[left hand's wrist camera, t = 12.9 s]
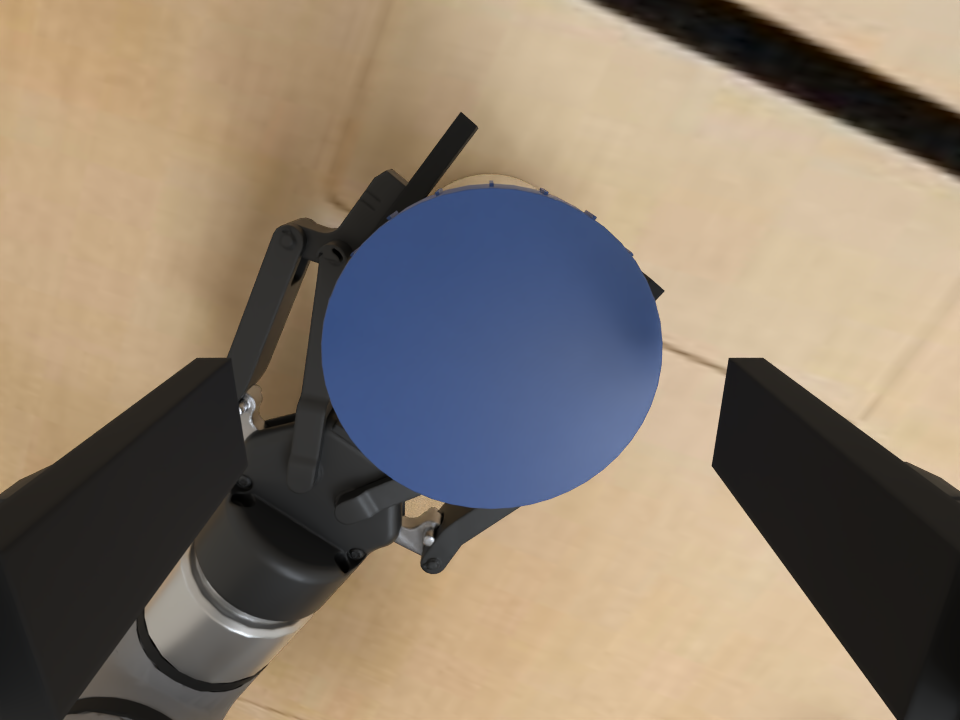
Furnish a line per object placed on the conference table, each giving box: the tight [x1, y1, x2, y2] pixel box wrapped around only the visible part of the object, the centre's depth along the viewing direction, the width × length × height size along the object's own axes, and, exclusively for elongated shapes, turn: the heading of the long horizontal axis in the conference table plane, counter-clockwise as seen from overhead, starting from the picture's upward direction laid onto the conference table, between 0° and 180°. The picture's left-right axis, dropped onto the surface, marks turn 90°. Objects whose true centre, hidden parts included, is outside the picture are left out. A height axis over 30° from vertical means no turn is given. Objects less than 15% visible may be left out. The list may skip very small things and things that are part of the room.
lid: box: [321, 180, 663, 509], centre depth 17 cm, size 10×10×2 cm
